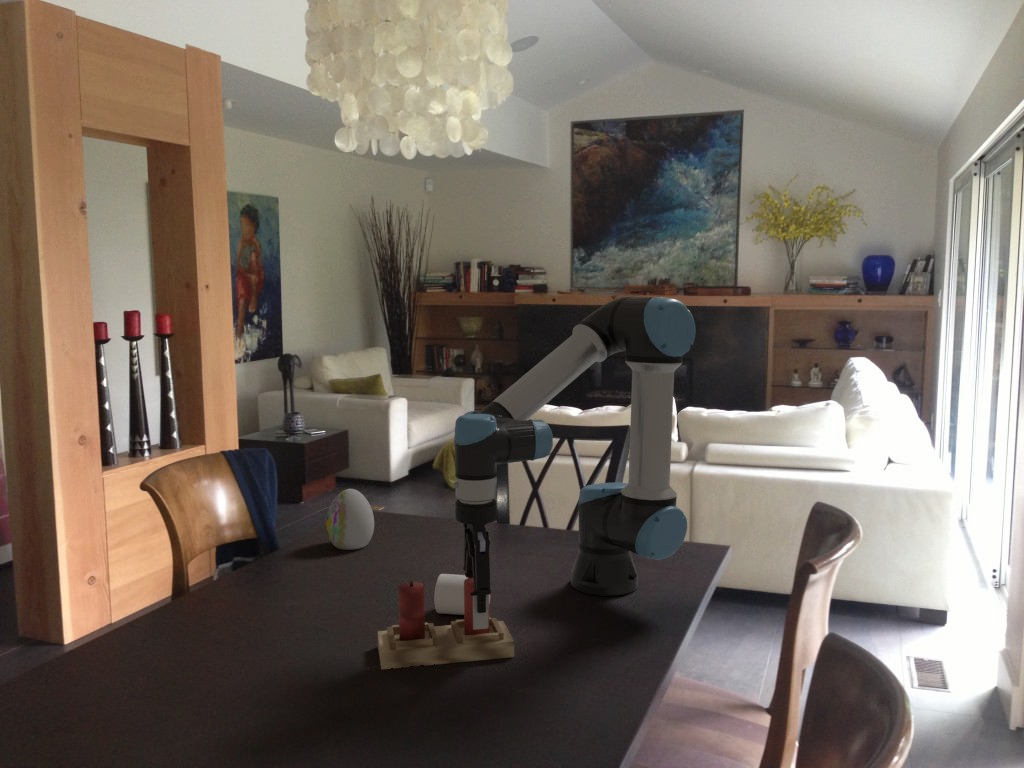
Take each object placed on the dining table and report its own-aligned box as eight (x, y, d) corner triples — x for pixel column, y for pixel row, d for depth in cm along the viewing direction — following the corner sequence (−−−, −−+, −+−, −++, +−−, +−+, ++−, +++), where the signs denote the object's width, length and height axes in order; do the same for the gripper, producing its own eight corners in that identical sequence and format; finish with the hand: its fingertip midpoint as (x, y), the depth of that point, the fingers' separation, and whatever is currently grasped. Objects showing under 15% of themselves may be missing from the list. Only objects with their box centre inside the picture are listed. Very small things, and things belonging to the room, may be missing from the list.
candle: (486, 627, 164) (486, 572, 163) (491, 637, 160) (491, 580, 158) (462, 629, 163) (462, 573, 162) (466, 639, 159) (466, 582, 157)
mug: (481, 622, 175) (481, 584, 174) (434, 619, 177) (433, 581, 176) (495, 601, 186) (494, 565, 185) (450, 598, 188) (449, 562, 187)
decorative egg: (326, 540, 231) (324, 485, 229) (372, 537, 234) (371, 482, 232) (327, 554, 219) (326, 496, 217) (376, 550, 222) (375, 493, 220)
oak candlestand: (503, 635, 168) (502, 566, 166) (514, 657, 158) (514, 583, 157) (377, 646, 163) (376, 575, 161) (381, 669, 153) (379, 593, 152)
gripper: (447, 487, 168) (449, 602, 170) (464, 514, 148) (465, 643, 151) (486, 485, 169) (486, 599, 172) (507, 512, 149) (507, 639, 152)
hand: (476, 619), depth 161 cm, fingers open, 7 cm apart
